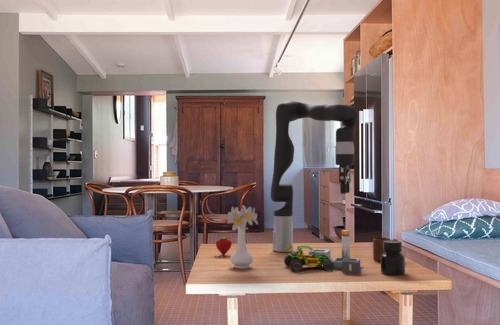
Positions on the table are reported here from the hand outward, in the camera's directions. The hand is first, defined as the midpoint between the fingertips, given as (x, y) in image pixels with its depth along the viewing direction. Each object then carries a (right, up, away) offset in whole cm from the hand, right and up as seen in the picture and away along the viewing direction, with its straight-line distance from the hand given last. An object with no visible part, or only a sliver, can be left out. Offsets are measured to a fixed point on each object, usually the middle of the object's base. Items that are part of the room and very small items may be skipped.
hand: (345, 193), depth 188 cm
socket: (-8, -31, +16) cm, 35 cm away
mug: (+21, -31, +14) cm, 40 cm away
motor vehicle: (-15, -31, -2) cm, 34 cm away
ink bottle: (+16, -30, -12) cm, 36 cm away
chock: (0, -30, -10) cm, 32 cm away
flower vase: (-42, -31, 0) cm, 52 cm away
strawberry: (-51, -31, +29) cm, 67 cm away
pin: (0, -29, -1) cm, 29 cm away
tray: (0, -30, -1) cm, 30 cm away
